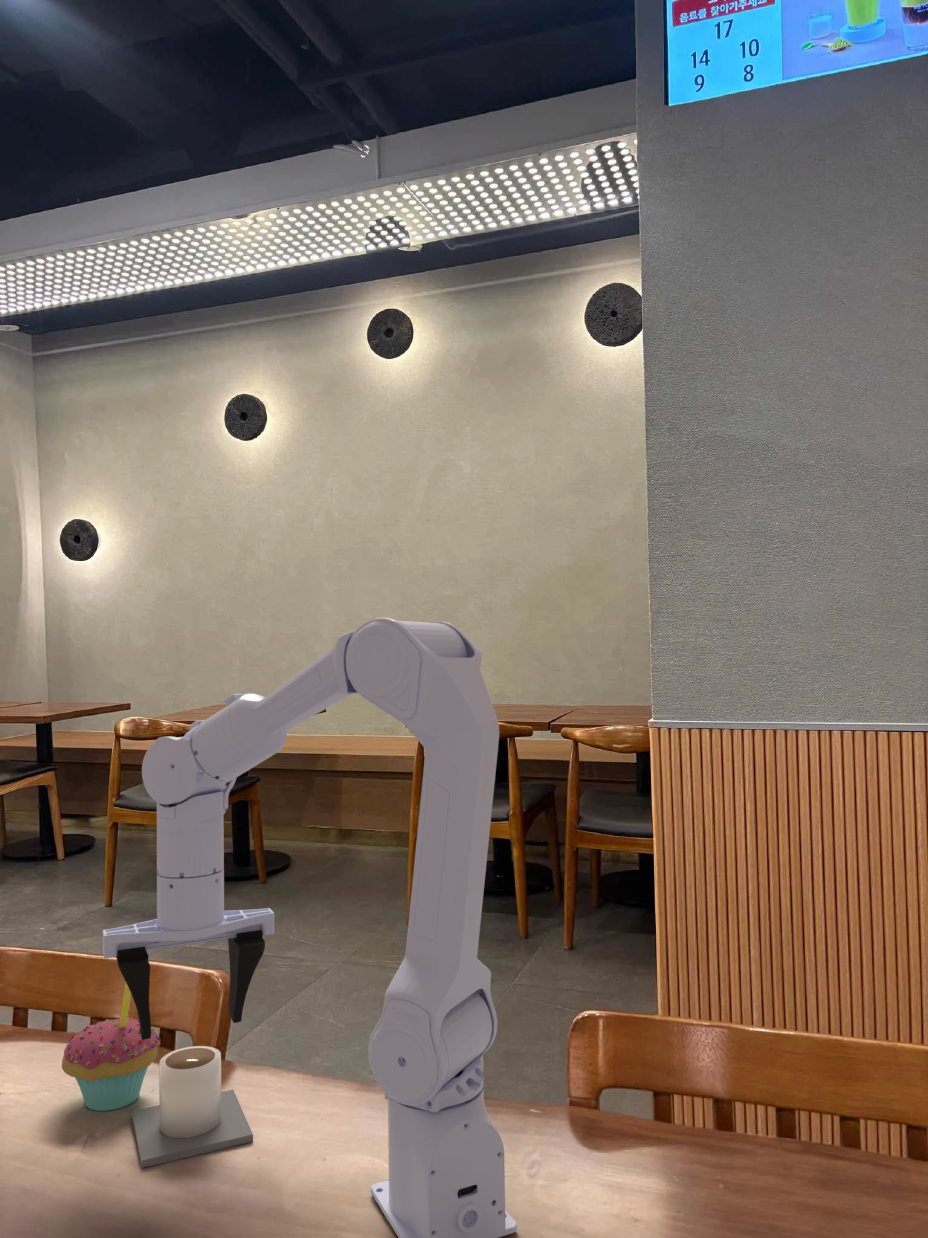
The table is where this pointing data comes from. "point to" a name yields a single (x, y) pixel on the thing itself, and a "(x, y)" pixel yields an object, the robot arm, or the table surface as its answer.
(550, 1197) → the table surface
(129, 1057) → the cupcake
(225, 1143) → the coaster
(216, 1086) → the cup
